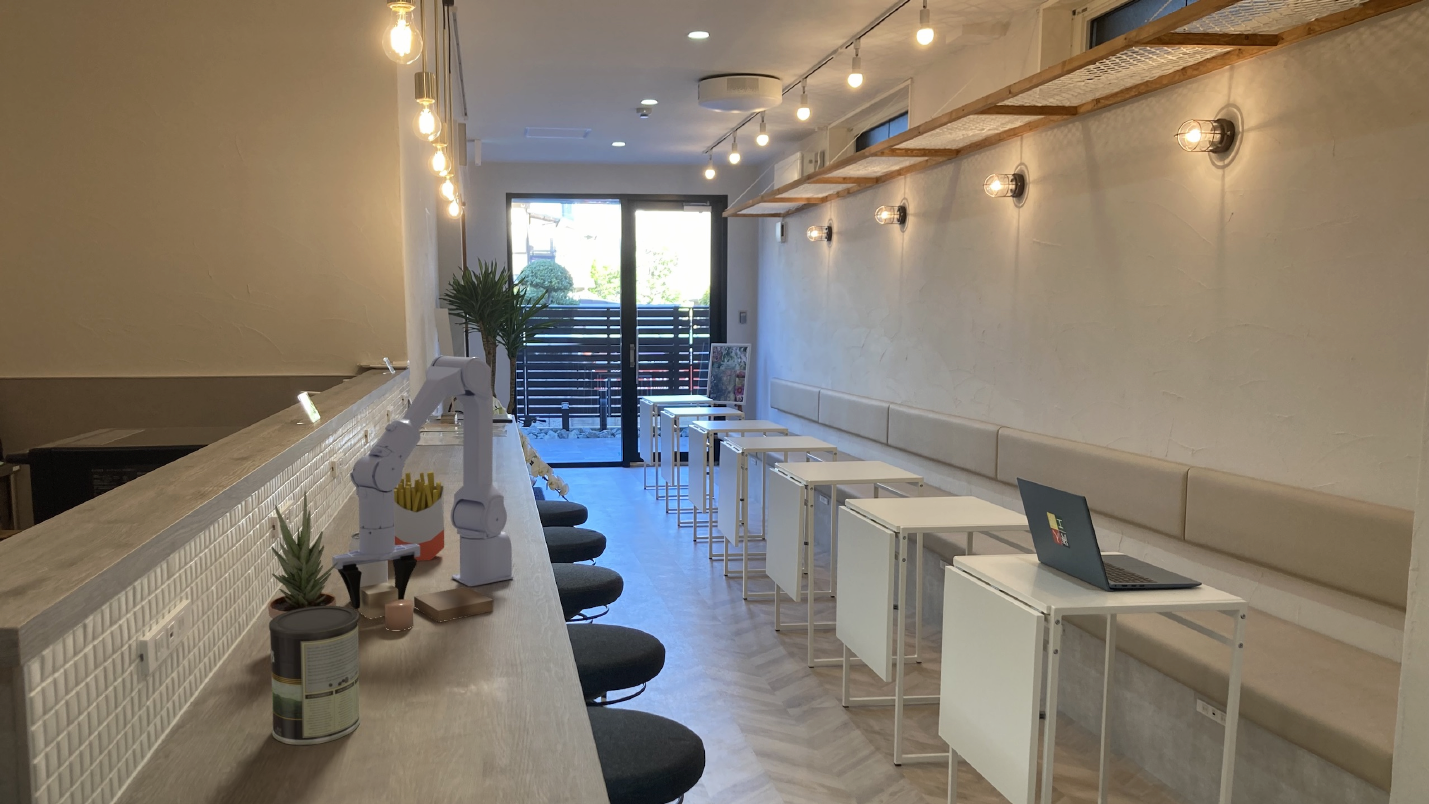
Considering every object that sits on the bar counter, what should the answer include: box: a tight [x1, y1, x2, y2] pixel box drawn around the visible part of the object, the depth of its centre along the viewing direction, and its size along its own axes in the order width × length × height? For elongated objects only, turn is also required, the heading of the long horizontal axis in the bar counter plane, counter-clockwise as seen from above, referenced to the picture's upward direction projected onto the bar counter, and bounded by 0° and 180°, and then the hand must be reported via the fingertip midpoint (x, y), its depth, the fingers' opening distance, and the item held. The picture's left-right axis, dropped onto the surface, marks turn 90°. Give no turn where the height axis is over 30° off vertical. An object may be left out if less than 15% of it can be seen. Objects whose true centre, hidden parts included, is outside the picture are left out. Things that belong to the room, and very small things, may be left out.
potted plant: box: [267, 490, 338, 620], centre depth 145 cm, size 10×10×25 cm
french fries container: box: [394, 471, 445, 562], centre depth 198 cm, size 5×11×18 cm, turn 108°
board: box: [413, 586, 494, 623], centre depth 165 cm, size 10×10×2 cm
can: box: [348, 532, 389, 602], centre depth 169 cm, size 6×6×12 cm
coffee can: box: [268, 605, 361, 746], centre depth 118 cm, size 10×10×14 cm
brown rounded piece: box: [384, 598, 414, 631], centre depth 156 cm, size 4×4×4 cm
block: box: [357, 582, 398, 619], centre depth 163 cm, size 5×5×4 cm
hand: (377, 603), depth 163 cm, fingers open, 7 cm apart
